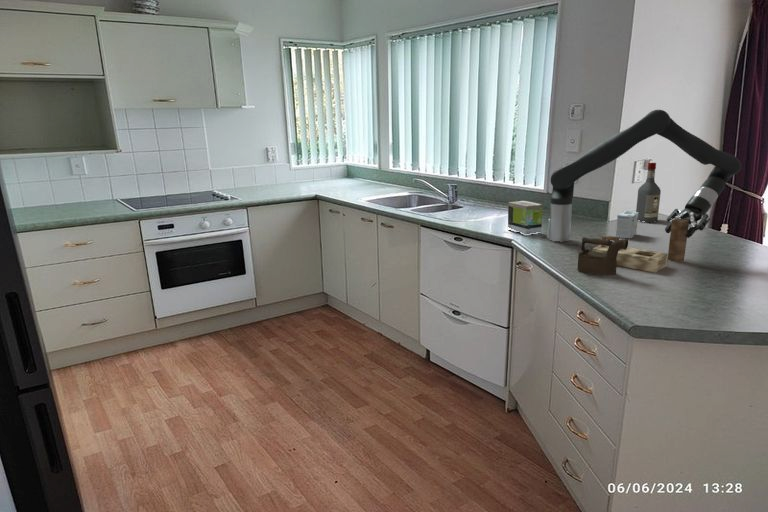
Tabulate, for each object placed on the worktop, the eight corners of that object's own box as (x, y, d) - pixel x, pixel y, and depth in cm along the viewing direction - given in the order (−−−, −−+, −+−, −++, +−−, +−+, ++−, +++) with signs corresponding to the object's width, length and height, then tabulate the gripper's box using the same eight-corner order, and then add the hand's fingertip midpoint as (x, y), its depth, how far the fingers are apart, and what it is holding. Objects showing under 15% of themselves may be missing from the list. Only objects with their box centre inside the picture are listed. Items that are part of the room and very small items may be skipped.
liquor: (632, 220, 262) (637, 162, 254) (645, 218, 265) (651, 161, 257) (646, 223, 254) (652, 164, 245) (660, 221, 257) (666, 162, 248)
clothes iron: (620, 278, 176) (623, 242, 173) (575, 270, 187) (577, 236, 183) (627, 272, 182) (630, 237, 178) (583, 265, 192) (585, 231, 189)
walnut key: (667, 259, 194) (672, 219, 190) (674, 258, 196) (679, 218, 191) (676, 262, 191) (681, 221, 186) (684, 260, 192) (689, 220, 188)
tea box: (542, 233, 243) (543, 204, 239) (525, 236, 239) (526, 206, 235) (523, 228, 256) (524, 199, 252) (506, 230, 253) (507, 201, 249)
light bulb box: (621, 232, 238) (623, 210, 235) (636, 234, 234) (639, 212, 231) (615, 237, 230) (617, 214, 227) (630, 239, 226) (632, 216, 223)
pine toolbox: (591, 260, 198) (593, 236, 195) (603, 255, 204) (604, 232, 201) (656, 272, 180) (658, 246, 178) (666, 266, 187) (669, 241, 184)
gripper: (680, 192, 195) (656, 224, 195) (715, 197, 183) (689, 232, 182) (688, 204, 199) (664, 236, 198) (723, 210, 186) (697, 244, 185)
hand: (676, 234), depth 190 cm, fingers open, 8 cm apart
